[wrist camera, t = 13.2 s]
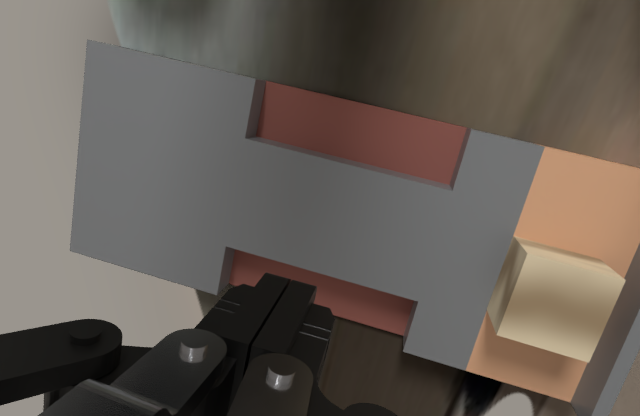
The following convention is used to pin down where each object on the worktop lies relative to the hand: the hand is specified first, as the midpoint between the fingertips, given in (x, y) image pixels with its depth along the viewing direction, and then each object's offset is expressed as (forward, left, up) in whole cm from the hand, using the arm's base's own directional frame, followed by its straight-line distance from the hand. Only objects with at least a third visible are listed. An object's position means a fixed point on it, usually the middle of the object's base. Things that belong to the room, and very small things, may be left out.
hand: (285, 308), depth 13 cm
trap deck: (+3, -1, -25) cm, 25 cm away
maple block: (+4, +15, -22) cm, 27 cm away
